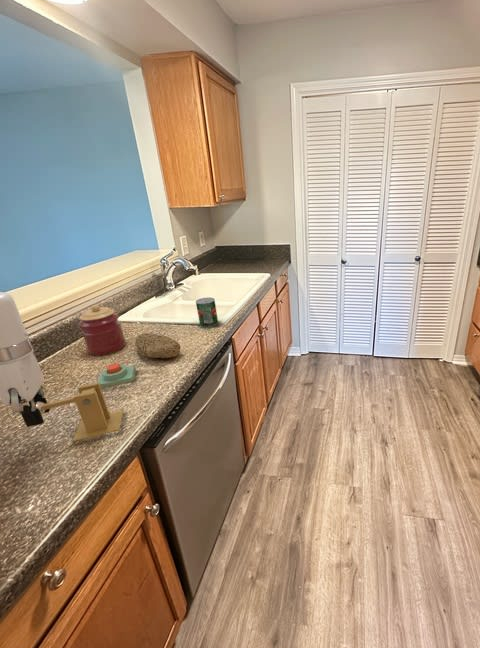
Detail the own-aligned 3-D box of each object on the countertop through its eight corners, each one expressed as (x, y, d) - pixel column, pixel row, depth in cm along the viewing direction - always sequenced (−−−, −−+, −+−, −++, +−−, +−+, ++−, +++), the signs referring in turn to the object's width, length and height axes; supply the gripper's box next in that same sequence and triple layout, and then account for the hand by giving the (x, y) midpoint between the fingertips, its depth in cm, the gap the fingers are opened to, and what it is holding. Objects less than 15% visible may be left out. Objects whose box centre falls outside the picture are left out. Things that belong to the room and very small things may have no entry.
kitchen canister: (101, 359, 117) (86, 313, 110) (81, 351, 123) (66, 308, 116) (133, 344, 127) (121, 301, 120) (114, 337, 133) (101, 297, 126)
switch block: (97, 391, 98) (93, 380, 96) (102, 378, 105) (98, 367, 103) (133, 383, 101) (130, 372, 99) (136, 371, 108) (133, 360, 106)
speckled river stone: (134, 353, 122) (142, 364, 106) (132, 332, 121) (140, 340, 105) (170, 348, 129) (183, 358, 113) (169, 329, 128) (182, 336, 112)
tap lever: (27, 422, 74) (20, 409, 72) (33, 412, 77) (26, 400, 76) (96, 404, 78) (91, 392, 77) (99, 395, 81) (94, 384, 80)
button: (107, 375, 99) (105, 370, 98) (109, 369, 102) (107, 364, 102) (120, 372, 100) (118, 367, 100) (121, 367, 103) (120, 362, 103)
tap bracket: (74, 444, 77) (57, 404, 73) (82, 423, 84) (67, 385, 80) (120, 432, 80) (107, 393, 76) (124, 413, 87) (112, 376, 83)
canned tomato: (196, 324, 142) (192, 300, 138) (212, 319, 147) (209, 296, 143) (205, 329, 137) (200, 304, 132) (221, 323, 142) (218, 300, 137)
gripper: (5, 337, 75) (33, 402, 82) (-34, 372, 61) (4, 447, 68) (43, 332, 78) (67, 395, 85) (14, 364, 63) (46, 437, 70)
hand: (38, 418), depth 76 cm, fingers closed on tap lever, 3 cm apart
